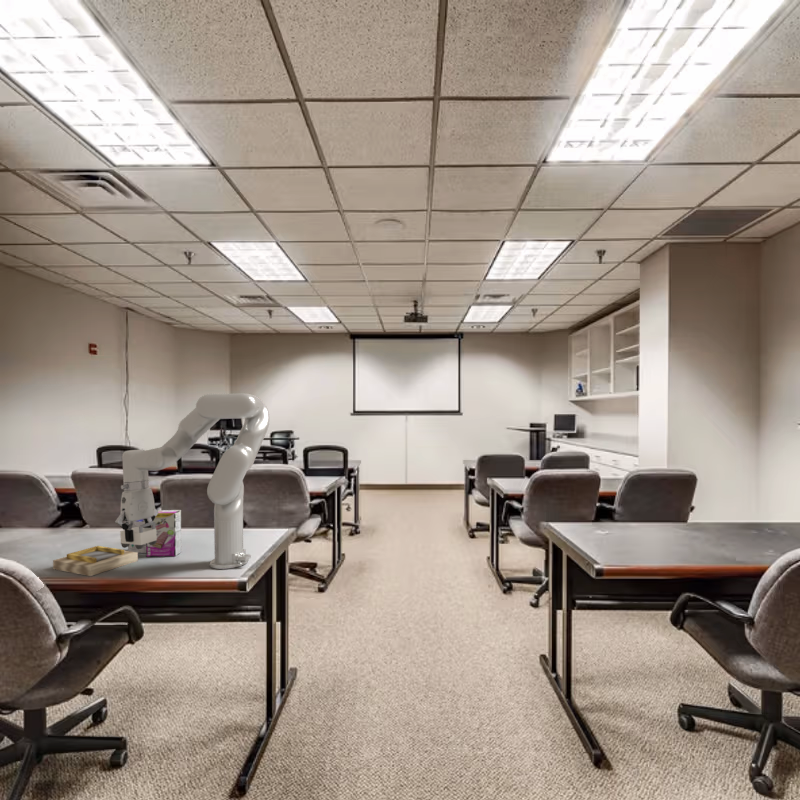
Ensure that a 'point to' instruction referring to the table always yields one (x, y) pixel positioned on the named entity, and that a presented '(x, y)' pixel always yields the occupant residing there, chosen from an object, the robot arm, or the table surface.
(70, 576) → the table surface
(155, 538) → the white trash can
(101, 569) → the dock
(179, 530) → the candy bar box
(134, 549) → the ink cartridge box
